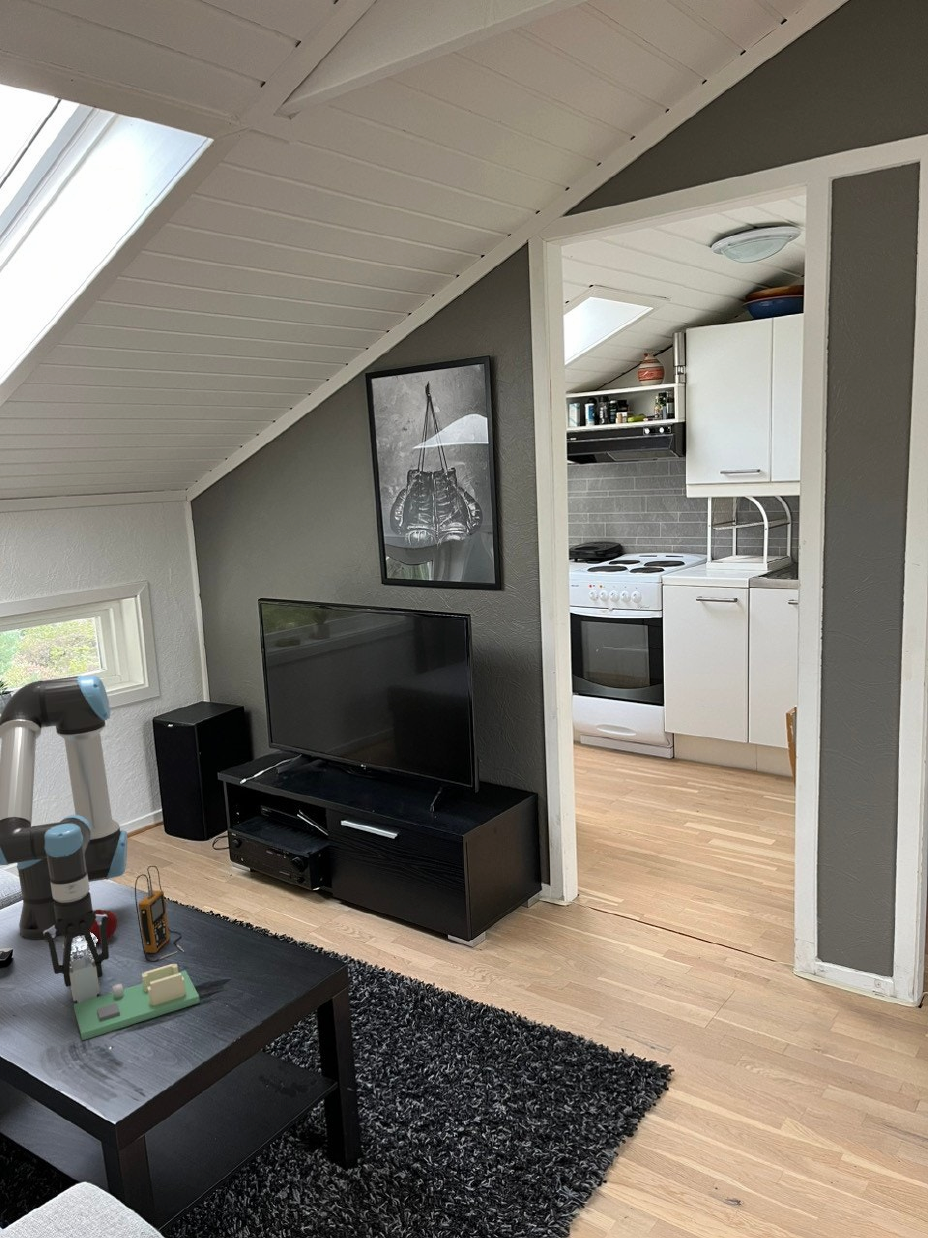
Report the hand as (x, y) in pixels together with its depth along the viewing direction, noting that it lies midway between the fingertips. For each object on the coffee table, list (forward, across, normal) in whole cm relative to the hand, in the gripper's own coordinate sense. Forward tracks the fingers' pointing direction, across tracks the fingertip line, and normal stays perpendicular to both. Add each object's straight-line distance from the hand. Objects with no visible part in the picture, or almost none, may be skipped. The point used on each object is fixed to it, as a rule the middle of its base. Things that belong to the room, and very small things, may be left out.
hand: (85, 994), depth 212 cm
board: (+1, +9, -11) cm, 14 cm away
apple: (+1, +7, +26) cm, 27 cm away
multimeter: (+1, +21, +12) cm, 24 cm away
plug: (+1, 0, 0) cm, 1 cm away
